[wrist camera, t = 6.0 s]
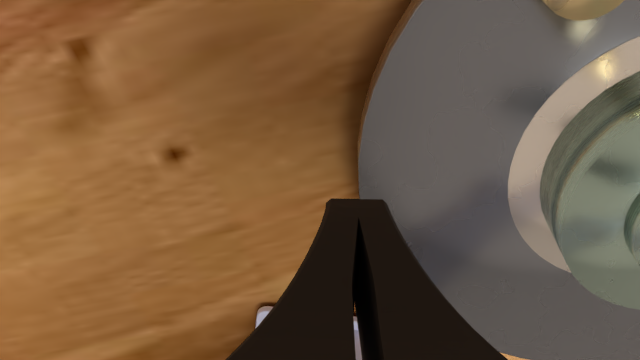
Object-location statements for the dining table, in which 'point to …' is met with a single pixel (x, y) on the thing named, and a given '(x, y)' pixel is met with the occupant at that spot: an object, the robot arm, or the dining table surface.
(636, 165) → the cover
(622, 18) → the turntable platter
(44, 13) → the dining table surface
